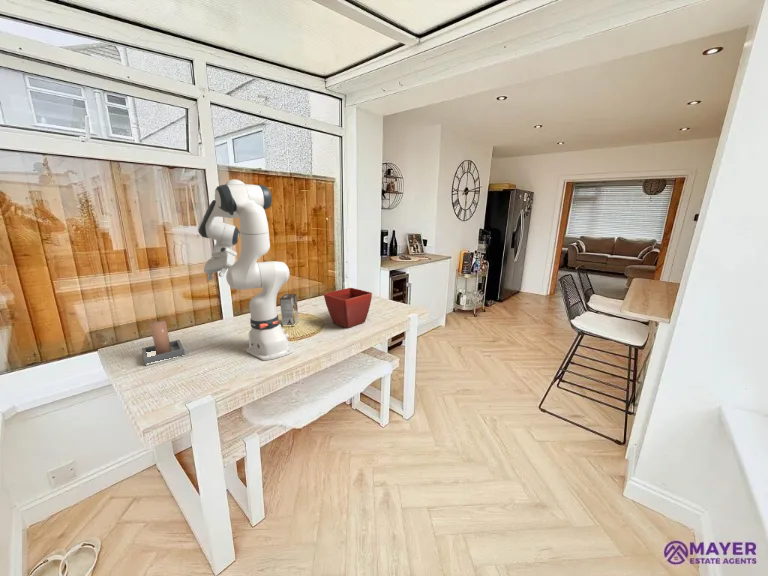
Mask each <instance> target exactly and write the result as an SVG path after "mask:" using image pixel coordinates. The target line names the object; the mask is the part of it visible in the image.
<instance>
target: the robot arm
mask: <svg viewBox="0 0 768 576" xmlns="http://www.w3.org/2000/svg"><path fill="white" fill-rule="evenodd" d="M272 203H273V197H272V193H271V191H270V189H269V188H268V187H267V186H266V185H263V184H251V183H250V184H247V183H244V181H241V180H240V179H235V178H234V179H229V180H227V181H226V182H225V184H221V185H218V186H216V188H215V190H214V200H212V201H211V202H210V204H209V205H208V207H207V209H206V211H205V213H204V216H203V217H202V219H201V220H200V221H199V223H198V226H197V227H198V228H197V231H198V233H199V234H200V236H201V237H202V238H205V239H210V240H215V243H214V246H213V249H212V253H211V256H212V257H210V258H209V259H207V261H206V263H205V265H204V268H203V273H206V274H207V280H209V281H212V280H213V278H214V277H213V275H214V274H215V273H217V272H218V277H220V278H222V277H224V275H225V273H226V275H225V278H226V282H227V284H228V286H229V287H230V288H231V289H233V290H251V289H258V288H261V290H260V292H259V293H258V294H257V295H255V296H253V297H252V298H251V299H250V301H249V302H248V303H249V304H248V305H249V313H250V318H249V320H250V327H251V329H250V330H249V331H248V344H249V347H247V348H246V353H248V354H250V355H252V356H254V357H255V358H258V359H259V360H262V361H268V360H269V361H270V360H275V359H278V358H282V357H284V356H287V355H290V354H292V353H293V352H294V350H295V349H294V347H293V345H292V344H291V342H290V341H289V338H290V335H289V333H285V330H286V329H285V328H283V326H282V325H281V322H280V318H279V315H278V312H277V311H278V310H277V298H278V295H279V291H280V290H281V288H282V287H283V286H284V285H286V283H287V282H288V280H289V278H290V276H291V274H290V269H289V266H288V264H286V263H285V262H284V261H275V260H271V261H269V260H268V261H260V262H257V261H258V260H259V259H260V258H261V257H263V256H265V255H266V254H267V253H268V252H269V251H270V248H271V242H270V231H269V228H270V227H269V222H268V218H267V214H266V211H265V210H269V209H270V208H271V206H272ZM216 217H217V218H218V217H219V218H228V219H236V218H239V228H238V227H237V226H235V225H234V224H229V223H226V222H223V221H219V220H217V219H215V218H216ZM239 237H240V243H241V244H240V253H239V256H238V258H237V260H236V257H237V255H238V252H236V251H235V250H233V248H234V246H235V245H237V244H238V241H239Z"/></svg>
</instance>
